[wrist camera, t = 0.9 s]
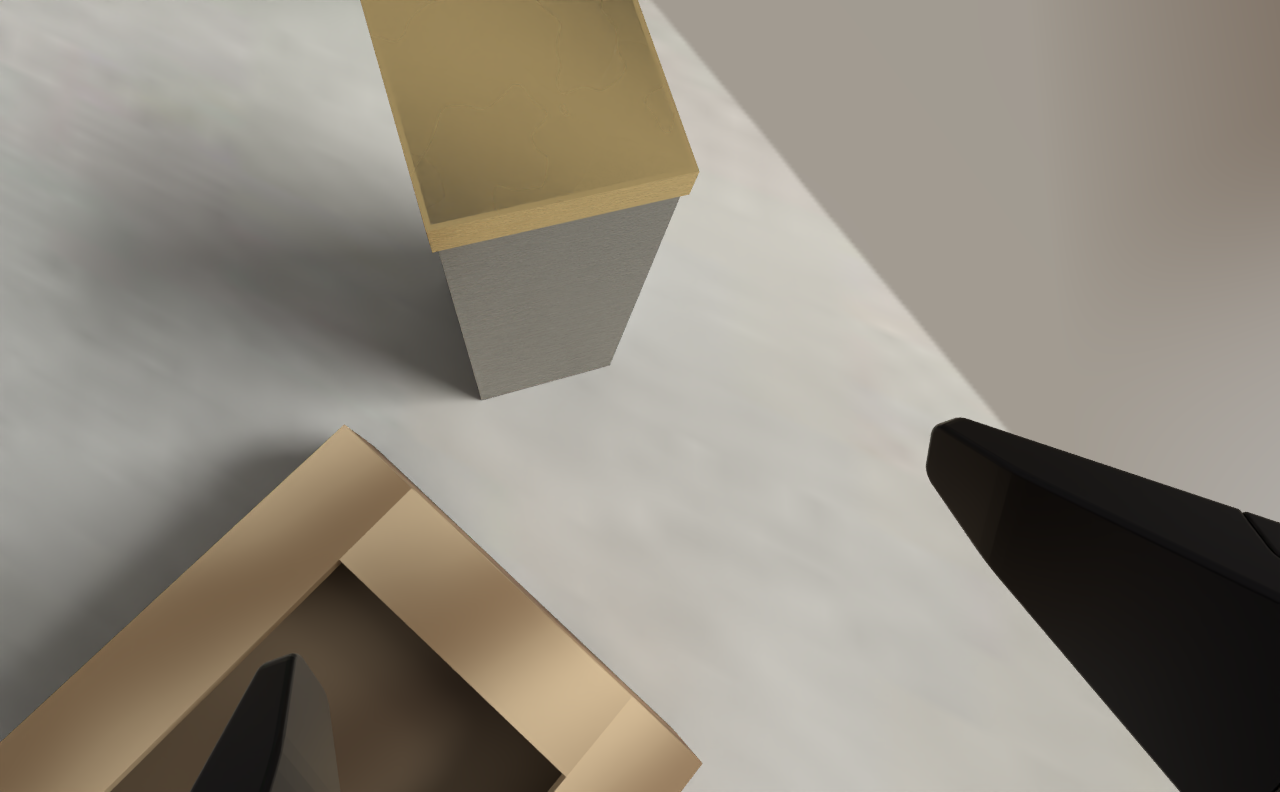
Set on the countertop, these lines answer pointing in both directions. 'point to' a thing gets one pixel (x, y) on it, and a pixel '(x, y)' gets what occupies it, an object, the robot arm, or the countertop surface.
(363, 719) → the caddy
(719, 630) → the countertop surface
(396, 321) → the countertop surface
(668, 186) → the tea canister
